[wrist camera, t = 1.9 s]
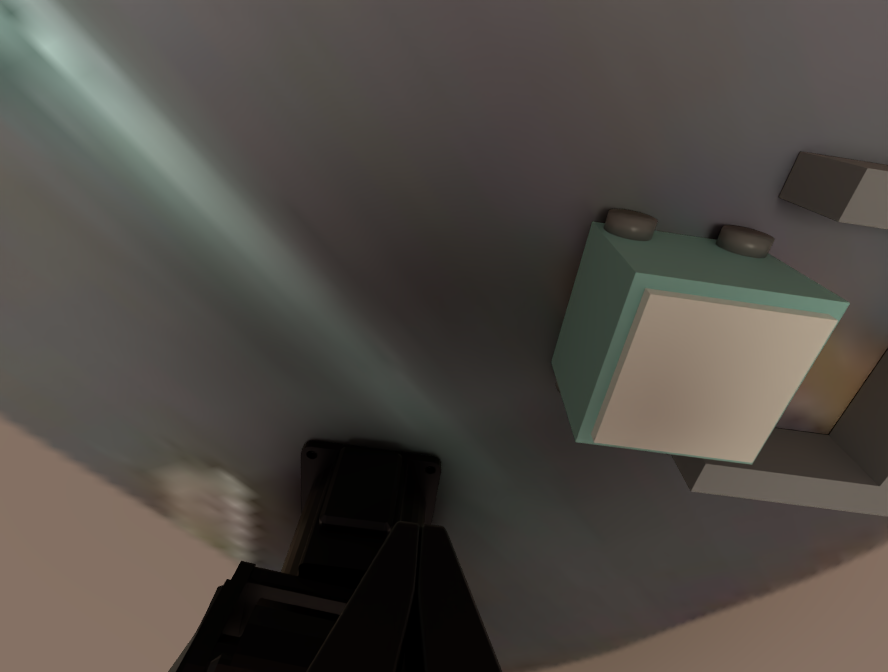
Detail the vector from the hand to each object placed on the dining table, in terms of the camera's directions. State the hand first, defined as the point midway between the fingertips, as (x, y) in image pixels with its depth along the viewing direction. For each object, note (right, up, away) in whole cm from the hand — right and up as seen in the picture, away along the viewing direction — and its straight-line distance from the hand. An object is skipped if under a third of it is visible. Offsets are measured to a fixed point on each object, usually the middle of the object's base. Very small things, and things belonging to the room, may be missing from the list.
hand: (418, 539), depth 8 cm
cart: (+8, +5, +11) cm, 14 cm away
